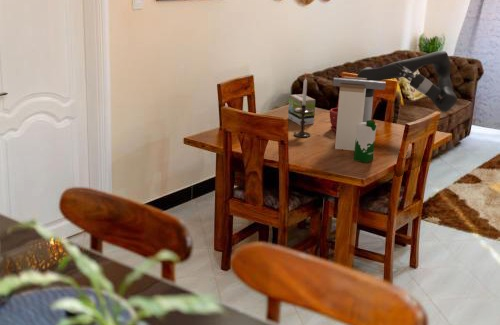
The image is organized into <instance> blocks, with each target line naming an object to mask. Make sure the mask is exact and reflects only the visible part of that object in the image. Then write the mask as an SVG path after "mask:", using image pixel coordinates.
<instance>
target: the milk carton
mask: <svg viewBox="0 0 500 325" xmlns="http://www.w3.org/2000/svg"><path fill="white" fill-rule="evenodd" d="M377 129H378V124H376V121H374V120H372V119H371V120H368V121H367V123H366V122H362V123H359V124H357V125H356V140H355V150H354V153H353V160H354V161H356V162H357V161H358V162H361V163H365V164H367V163H369V162H371V161H373V160H374V154H375V145H376V144H375V142H376V133H377Z"/></svg>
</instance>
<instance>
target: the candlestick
mask: <svg viewBox="0 0 500 325" xmlns="http://www.w3.org/2000/svg"><path fill="white" fill-rule="evenodd" d="M307 92H308V80H307V72H304V79H303V88H302V94H303V100H302V104H301V106H302V107H298V108H294V110H293V111H294V112H295V113H298V114H302V121H300V123H301V125H299V126H300V131H295V132H293V136H294V137H295V138H301V139H306V138H310V137H311V133H310V132H307V131H304V129H305V127H306V126H305V125H304V124H305V121H304V115H305V114H312V113H313V112H314V110H313V109H311V108H306V106H308V105H306V96H307Z"/></svg>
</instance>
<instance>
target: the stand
mask: <svg viewBox="0 0 500 325" xmlns="http://www.w3.org/2000/svg"><path fill="white" fill-rule="evenodd" d="M343 78H345V79H358V80H367V78H357V77H352V76H343ZM364 87H365V86H362V85H350V84H340V86H339V94H338V107H337V108H338V117H337V130H336V134H335V146H334V149H335V150H342V149H343V150H345V151H354V150H355V140H356V125H357V124H359V123H362V122H363V115H364V105H365V94H366V88H364Z"/></svg>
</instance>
